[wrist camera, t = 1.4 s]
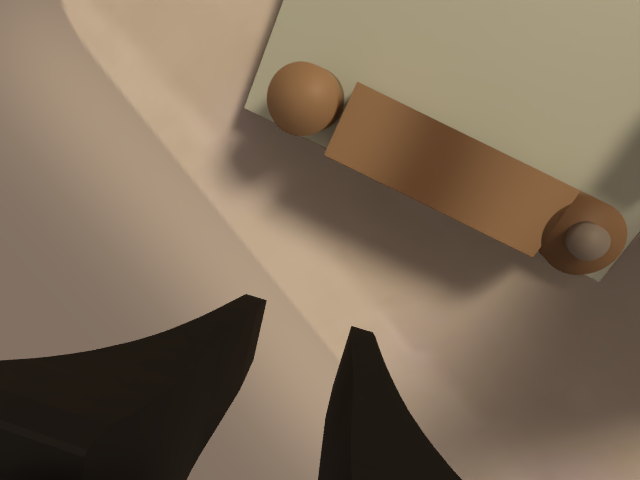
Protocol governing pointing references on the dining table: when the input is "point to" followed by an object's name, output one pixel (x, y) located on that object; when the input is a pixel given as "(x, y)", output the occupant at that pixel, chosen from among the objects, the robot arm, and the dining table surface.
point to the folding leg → (476, 184)
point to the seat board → (475, 79)
